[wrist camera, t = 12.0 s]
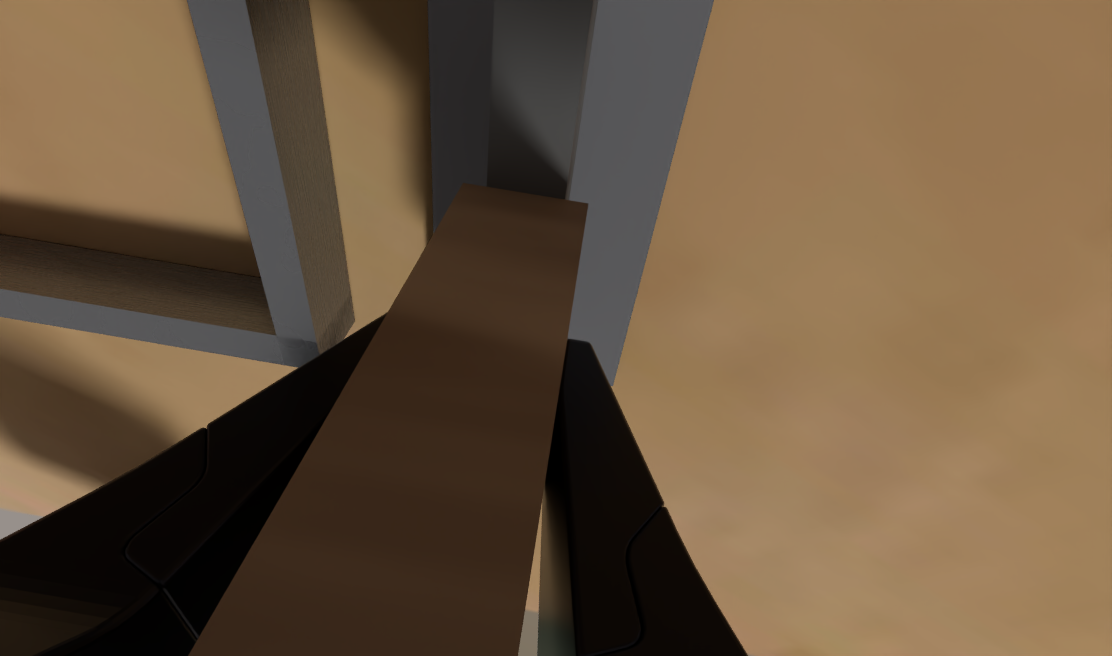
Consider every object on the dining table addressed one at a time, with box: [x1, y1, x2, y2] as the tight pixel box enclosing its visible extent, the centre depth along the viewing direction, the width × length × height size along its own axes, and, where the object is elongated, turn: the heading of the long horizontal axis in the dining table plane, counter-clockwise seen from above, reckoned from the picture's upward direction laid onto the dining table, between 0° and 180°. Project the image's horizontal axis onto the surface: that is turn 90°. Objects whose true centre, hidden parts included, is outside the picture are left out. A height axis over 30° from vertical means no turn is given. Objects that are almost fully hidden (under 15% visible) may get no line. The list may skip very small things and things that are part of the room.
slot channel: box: [0, 0, 355, 368], centre depth 14 cm, size 13×13×2 cm
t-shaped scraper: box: [188, 0, 598, 656], centre depth 9 cm, size 9×2×11 cm, turn 173°
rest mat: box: [428, 0, 714, 386], centre depth 14 cm, size 14×6×1 cm, turn 173°
